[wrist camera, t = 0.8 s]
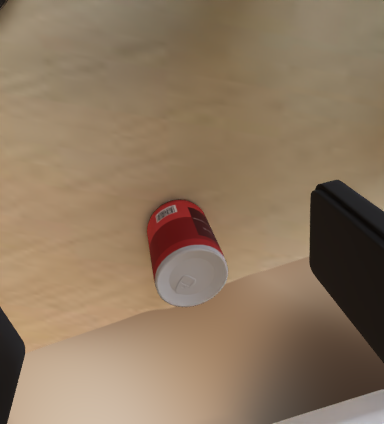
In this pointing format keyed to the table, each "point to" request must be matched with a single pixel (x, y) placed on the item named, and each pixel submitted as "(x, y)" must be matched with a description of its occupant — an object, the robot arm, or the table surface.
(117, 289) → the table surface
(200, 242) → the canned food
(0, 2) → the lid
